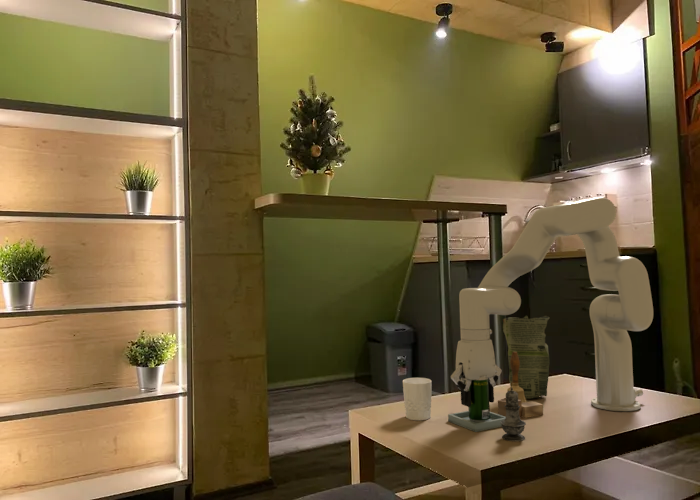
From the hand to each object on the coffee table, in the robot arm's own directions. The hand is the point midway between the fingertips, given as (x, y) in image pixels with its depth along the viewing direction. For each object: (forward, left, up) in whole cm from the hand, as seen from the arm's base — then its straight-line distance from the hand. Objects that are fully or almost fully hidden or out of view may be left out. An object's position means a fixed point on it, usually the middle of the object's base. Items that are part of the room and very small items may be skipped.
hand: (477, 402), depth 142 cm
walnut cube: (-11, 0, -5) cm, 12 cm away
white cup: (+10, -13, -5) cm, 17 cm away
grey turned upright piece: (+1, +14, -5) cm, 15 cm away
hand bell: (-19, -6, -5) cm, 21 cm away
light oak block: (-17, +1, -5) cm, 18 cm away
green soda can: (0, 0, -5) cm, 5 cm away
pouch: (-32, -14, -5) cm, 35 cm away
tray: (0, 0, -5) cm, 5 cm away
